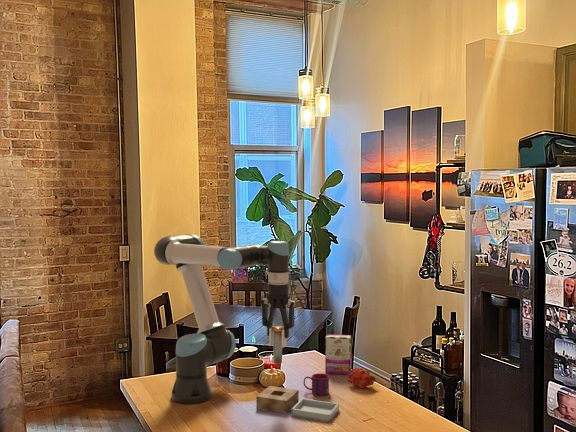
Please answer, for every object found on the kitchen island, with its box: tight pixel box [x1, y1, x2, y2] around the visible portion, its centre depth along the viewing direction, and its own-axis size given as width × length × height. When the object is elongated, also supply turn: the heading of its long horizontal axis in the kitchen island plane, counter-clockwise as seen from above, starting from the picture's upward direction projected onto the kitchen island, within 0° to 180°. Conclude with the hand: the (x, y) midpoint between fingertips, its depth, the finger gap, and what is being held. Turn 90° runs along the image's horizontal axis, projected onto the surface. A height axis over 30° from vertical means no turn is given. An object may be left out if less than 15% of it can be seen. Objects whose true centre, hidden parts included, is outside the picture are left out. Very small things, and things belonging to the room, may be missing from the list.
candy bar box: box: [324, 334, 352, 376], centre depth 252 cm, size 11×5×16 cm, turn 81°
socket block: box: [255, 385, 300, 414], centre depth 215 cm, size 12×12×4 cm
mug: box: [303, 373, 330, 397], centre depth 228 cm, size 7×10×7 cm
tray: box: [290, 398, 340, 423], centre depth 207 cm, size 14×11×2 cm
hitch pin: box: [272, 325, 284, 364], centre depth 214 cm, size 4×4×13 cm
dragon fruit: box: [346, 367, 377, 390], centre depth 234 cm, size 8×8×12 cm
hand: (277, 345), depth 214 cm, fingers closed on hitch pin, 4 cm apart
